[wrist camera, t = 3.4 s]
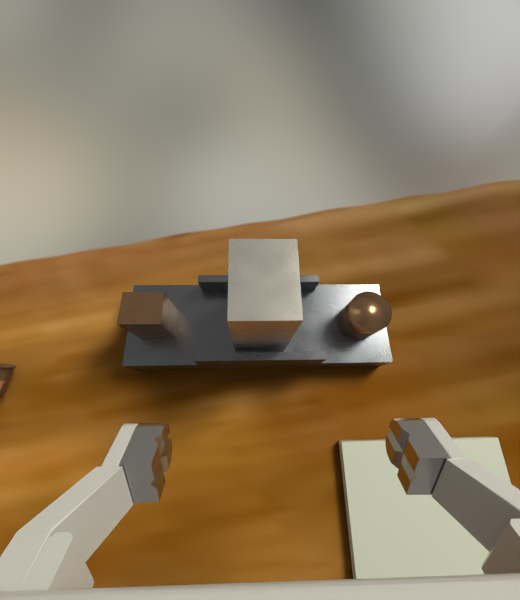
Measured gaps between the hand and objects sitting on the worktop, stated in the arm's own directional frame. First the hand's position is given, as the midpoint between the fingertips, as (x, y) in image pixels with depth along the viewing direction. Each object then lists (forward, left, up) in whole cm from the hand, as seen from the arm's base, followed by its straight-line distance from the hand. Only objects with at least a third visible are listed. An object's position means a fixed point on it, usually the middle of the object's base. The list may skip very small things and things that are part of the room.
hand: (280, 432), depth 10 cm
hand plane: (0, +8, -14) cm, 16 cm away
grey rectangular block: (0, +8, -12) cm, 14 cm away
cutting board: (+13, -8, -14) cm, 21 cm away
